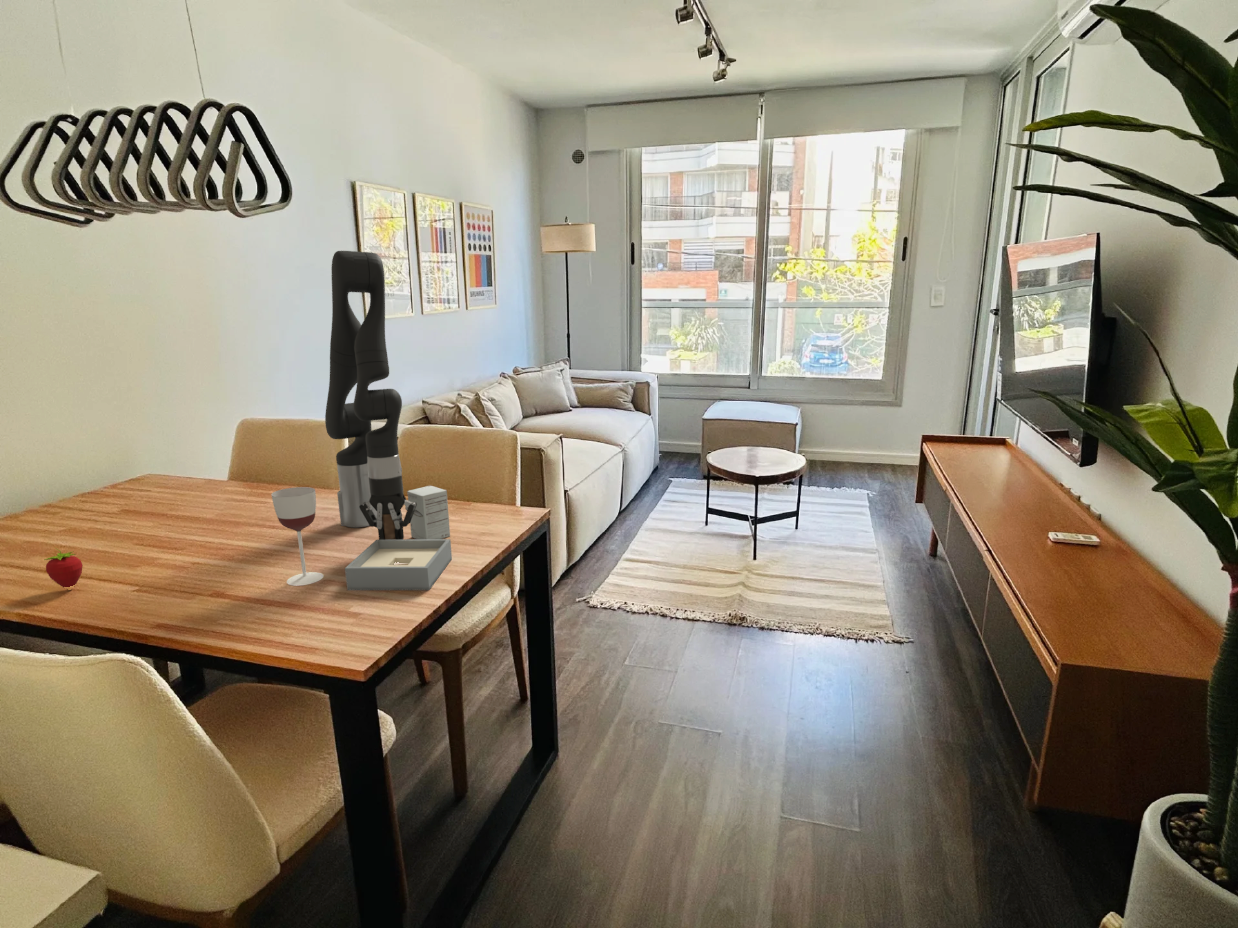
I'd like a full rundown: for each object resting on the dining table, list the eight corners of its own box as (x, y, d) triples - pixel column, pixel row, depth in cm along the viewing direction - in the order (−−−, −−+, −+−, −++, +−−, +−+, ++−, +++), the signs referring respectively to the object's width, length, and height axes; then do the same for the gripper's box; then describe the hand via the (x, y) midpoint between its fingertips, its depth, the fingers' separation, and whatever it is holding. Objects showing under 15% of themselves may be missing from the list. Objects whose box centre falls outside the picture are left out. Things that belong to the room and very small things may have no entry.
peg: (384, 554, 166) (380, 515, 164) (389, 550, 169) (385, 511, 167) (396, 554, 166) (392, 515, 164) (401, 550, 169) (397, 511, 167)
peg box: (347, 590, 146) (344, 568, 145) (378, 559, 163) (376, 539, 162) (429, 590, 146) (427, 567, 144) (451, 559, 163) (450, 539, 161)
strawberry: (62, 598, 145) (52, 554, 142) (44, 592, 148) (34, 548, 146) (94, 588, 150) (84, 544, 147) (76, 582, 153) (66, 539, 151)
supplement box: (410, 537, 178) (406, 490, 175) (435, 530, 183) (431, 484, 180) (426, 544, 173) (421, 495, 170) (451, 536, 178) (447, 489, 176)
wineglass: (294, 571, 157) (283, 487, 152) (332, 571, 157) (321, 486, 152) (276, 586, 149) (263, 497, 144) (316, 585, 149) (304, 497, 144)
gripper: (349, 477, 160) (357, 548, 164) (409, 477, 159) (415, 547, 163) (362, 470, 167) (369, 537, 171) (419, 469, 167) (425, 537, 171)
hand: (392, 542), depth 167 cm, fingers closed on peg, 3 cm apart
